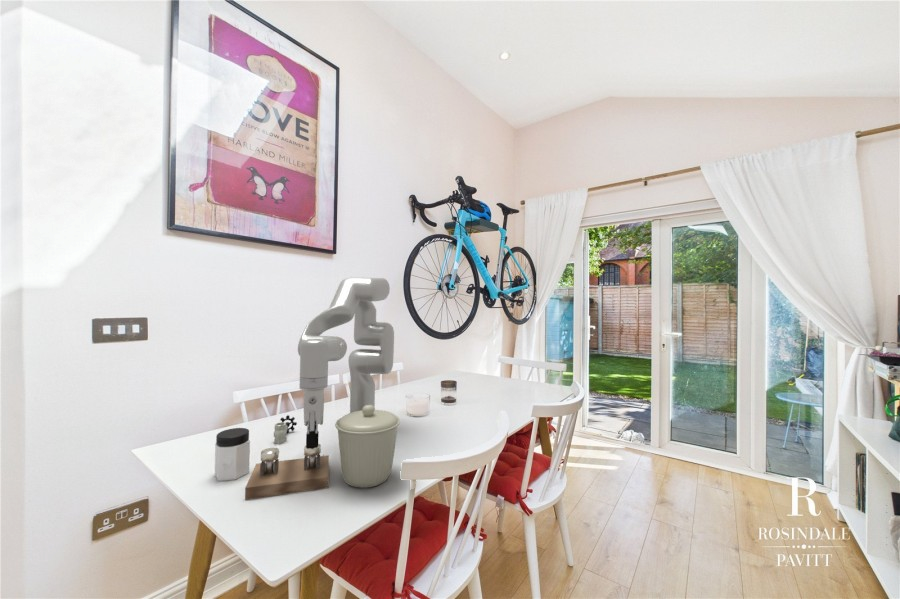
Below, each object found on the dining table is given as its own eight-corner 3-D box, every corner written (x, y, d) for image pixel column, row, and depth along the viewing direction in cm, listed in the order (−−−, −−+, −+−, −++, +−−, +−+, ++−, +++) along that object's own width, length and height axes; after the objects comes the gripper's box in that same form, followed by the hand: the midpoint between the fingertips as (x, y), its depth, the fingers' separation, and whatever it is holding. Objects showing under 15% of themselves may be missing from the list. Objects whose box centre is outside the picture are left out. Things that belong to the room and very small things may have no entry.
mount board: (328, 465, 109) (329, 445, 109) (328, 487, 96) (328, 465, 96) (255, 474, 102) (256, 453, 103) (244, 499, 89) (245, 476, 89)
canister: (346, 463, 110) (347, 395, 110) (403, 465, 110) (405, 397, 110) (323, 494, 92) (325, 414, 92) (392, 497, 92) (394, 416, 92)
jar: (208, 482, 97) (209, 439, 97) (220, 468, 105) (221, 428, 105) (244, 479, 99) (245, 436, 99) (253, 466, 107) (254, 426, 107)
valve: (288, 444, 124) (296, 431, 136) (288, 425, 124) (297, 414, 136) (268, 445, 123) (278, 432, 135) (268, 426, 123) (278, 415, 135)
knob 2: (320, 463, 104) (320, 442, 104) (320, 469, 100) (320, 448, 100) (304, 465, 102) (304, 444, 102) (303, 472, 98) (303, 450, 98)
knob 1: (279, 468, 100) (279, 446, 100) (277, 475, 96) (277, 453, 96) (262, 470, 99) (262, 448, 99) (259, 477, 95) (259, 455, 95)
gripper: (327, 387, 95) (325, 455, 95) (327, 376, 109) (326, 436, 109) (297, 389, 93) (295, 459, 92) (301, 377, 107) (300, 438, 107)
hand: (312, 446), depth 101 cm, fingers closed
